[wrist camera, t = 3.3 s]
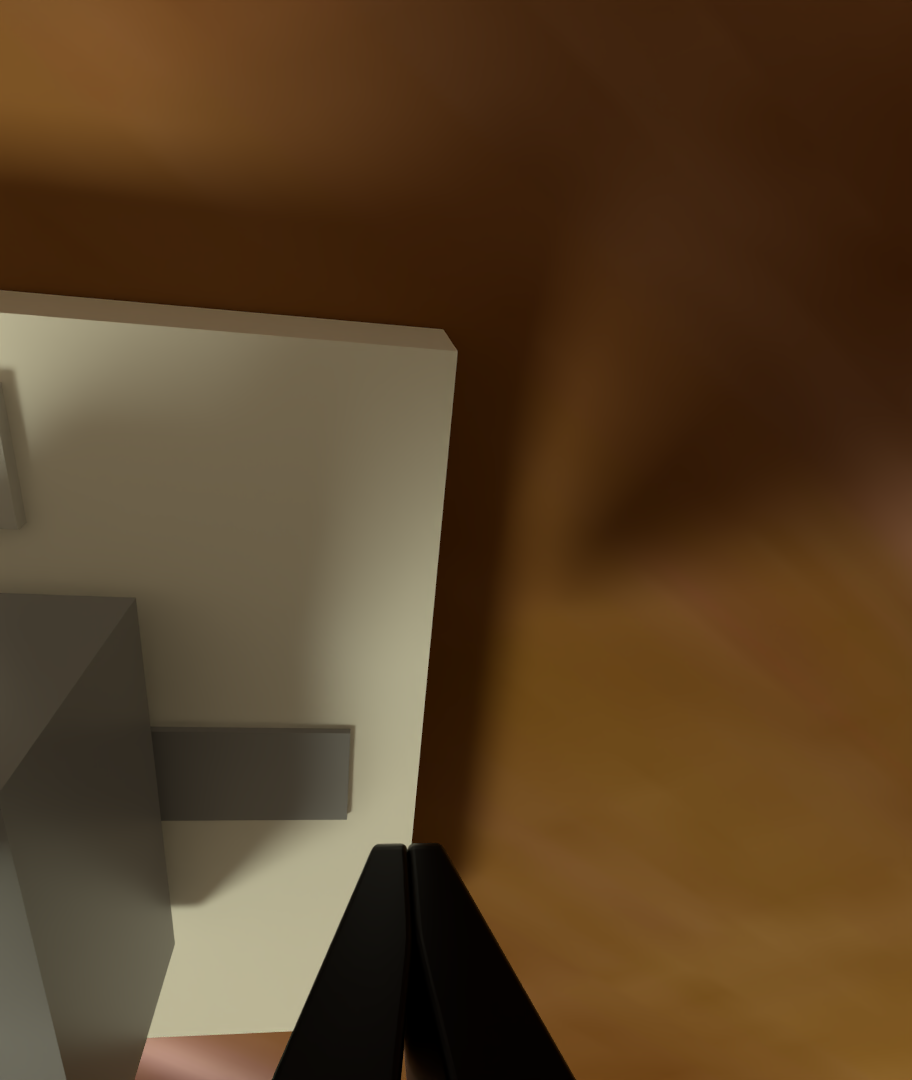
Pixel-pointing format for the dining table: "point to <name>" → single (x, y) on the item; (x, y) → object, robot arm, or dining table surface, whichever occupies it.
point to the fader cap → (77, 841)
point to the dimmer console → (243, 597)
